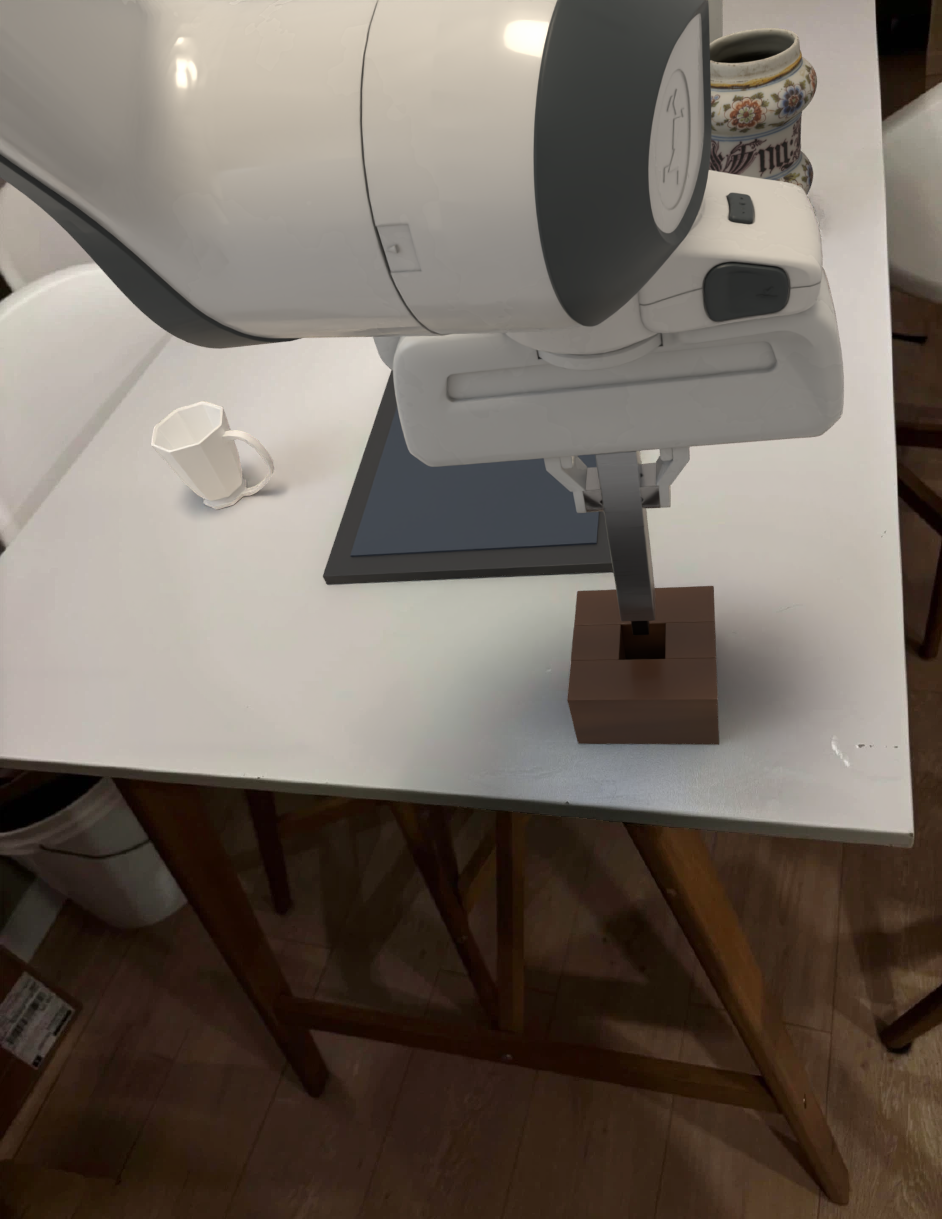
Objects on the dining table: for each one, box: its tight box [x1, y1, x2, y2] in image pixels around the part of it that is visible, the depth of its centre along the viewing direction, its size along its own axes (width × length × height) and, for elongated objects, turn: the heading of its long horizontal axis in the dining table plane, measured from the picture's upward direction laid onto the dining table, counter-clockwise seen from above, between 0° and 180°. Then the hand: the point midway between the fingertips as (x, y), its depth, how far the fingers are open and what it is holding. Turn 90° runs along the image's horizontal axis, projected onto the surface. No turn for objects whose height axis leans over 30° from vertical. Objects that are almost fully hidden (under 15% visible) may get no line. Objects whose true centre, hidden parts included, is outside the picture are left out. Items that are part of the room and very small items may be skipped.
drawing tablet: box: [322, 369, 613, 585], centre depth 81 cm, size 40×24×1 cm, turn 172°
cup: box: [150, 400, 275, 511], centre depth 80 cm, size 7×10×8 cm
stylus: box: [595, 451, 656, 635], centre depth 49 cm, size 2×2×15 cm
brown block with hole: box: [566, 585, 720, 746], centre depth 57 cm, size 9×9×5 cm
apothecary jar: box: [709, 27, 818, 196], centre depth 85 cm, size 12×12×18 cm
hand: (624, 502), depth 47 cm, fingers closed on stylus, 2 cm apart
